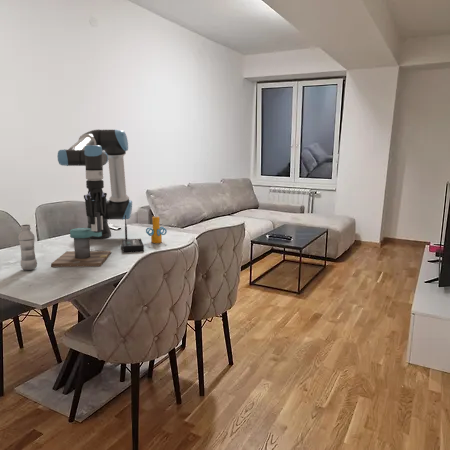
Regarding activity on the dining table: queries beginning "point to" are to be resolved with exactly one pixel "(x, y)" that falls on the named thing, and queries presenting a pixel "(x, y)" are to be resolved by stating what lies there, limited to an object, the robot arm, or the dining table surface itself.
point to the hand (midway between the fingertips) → (97, 230)
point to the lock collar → (87, 230)
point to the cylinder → (156, 230)
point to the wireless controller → (131, 243)
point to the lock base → (83, 262)
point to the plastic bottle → (27, 248)
